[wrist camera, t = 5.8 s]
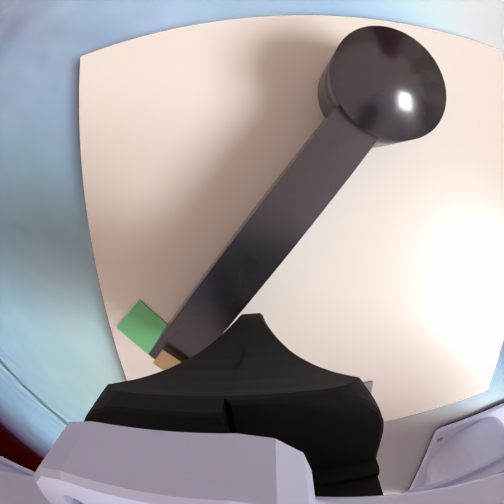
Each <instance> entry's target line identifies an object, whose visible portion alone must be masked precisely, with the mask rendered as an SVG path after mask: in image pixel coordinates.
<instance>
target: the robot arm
mask: <svg viewBox="0 0 504 504" xmlns="http://www.w3.org/2000/svg"><path fill="white" fill-rule="evenodd" d="M383 423H384V420H383V417H382V415H381V412H380V409H379V407H378V405H377V403H376V401H375V399H374V397H373V396H372V394H371V393H370V391H369V390H368V389H367V387H366V386H365V384H364V383H363V382H362V380H361V379H360V378H359V377H355V376H350V375H345V374H341V373H336V372H333V371H330V370H327V369H324V368H321V367H319V366H316V365H314V364H312V363H310V362H308V361H306V360H304V359H302V358H300V357H299V356H297V355H296V354H294V353H293V352H291V351H290V350H289V349H288V348H287V347H286V346H284V345H283V344H282V342H281V341H280V340H279V339H278V338H277V337H276V336H275V335H274V333H273V332H272V331H271V330H270V328H269V327H268V325H267V324H266V322H265V320H264V316H263V315H262V314H261V313H252V314H242V315H241V316H240V317H239V318H238V319H237V320H236V321H235V322H234V323H233V324H232V325H231V326H230V327H229V328H228V329H227V330H226V331H225V332H224V333H223V334H222V335H221V336H220V337H218V338H217V339H216V340H215V341H214V342H212V343H211V344H210V345H209V346H208V347H206V348H205V349H203V350H202V351H201V352H199V353H197V354H196V355H194V356H192V357H191V358H189V359H187V360H185V361H183V362H181V363H179V364H177V365H175V366H173V367H171V368H169V369H166V370H163V371H161V372H158V373H155V374H152V375H149V376H146V377H142V378H138V379H134V380H129V381H124V382H119V383H114V384H108V385H107V387H106V388H105V389H104V391H103V392H102V394H101V395H100V396H99V398H98V399H97V401H96V402H95V404H94V405H93V407H92V408H91V410H90V411H89V412H88V414H87V415H86V418H85V421H84V422H69V424H68V425H67V427H66V428H65V429H64V431H63V432H62V434H61V435H60V436H59V438H58V439H57V441H56V442H55V444H54V445H53V447H52V448H51V449H50V451H49V452H48V454H47V455H46V457H45V458H44V460H43V461H42V463H41V464H40V466H39V467H38V469H37V470H36V472H33V471H31V470H29V469H27V468H24V467H22V466H20V465H18V464H16V463H13V462H11V461H9V460H7V459H5V458H3V457H1V456H0V504H504V403H502V404H500V405H498V406H495V407H493V408H491V409H488V410H486V411H484V412H481V413H479V414H476V415H474V416H471V417H469V418H466V419H463V420H461V421H458V422H455V423H452V424H449V425H446V426H443V427H441V428H439V429H437V430H436V431H435V433H434V435H433V438H432V440H431V443H430V445H429V448H428V450H427V452H426V455H425V457H424V459H423V462H422V464H421V466H420V468H419V470H418V472H417V475H416V477H415V479H414V481H413V483H412V485H411V487H410V489H409V491H406V492H403V493H399V494H393V495H383V492H382V489H381V486H380V483H379V480H378V476H377V475H379V466H378V463H377V460H376V456H377V452H378V449H379V445H380V441H381V437H382V433H383Z"/></svg>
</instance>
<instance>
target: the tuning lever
mask: <svg viewBox="0 0 504 504" xmlns="http://www.w3.org/2000/svg"><path fill="white" fill-rule="evenodd" d="M318 101H319V105H320V109H321V111H322V114H323V115H324V117H325V119H324V120H323V121H322V123H321V124H320V125H319V126H318V128H317V129H316V130H315V131H314V133H313V134H312V135H311V136H310V138H309V139H308V140H307V141H306V143H305V144H304V145H303V146H302V148H301V149H300V150H299V151H298V153H297V154H296V155H295V156H294V158H293V159H292V160H291V162H290V163H289V164H288V165H287V167H286V168H285V169H284V170H283V172H282V173H281V174H280V176H279V177H278V178H277V179H276V181H275V182H274V183H273V185H272V186H271V187H270V188H269V190H268V191H267V192H266V194H265V195H264V196H263V197H262V199H261V200H260V201H259V203H258V204H257V205H256V206H255V208H254V209H253V210H252V212H251V213H250V214H249V216H248V217H247V218H246V220H245V221H244V222H243V223H242V225H241V226H240V227H239V229H238V230H237V231H236V233H235V234H234V235H233V237H232V238H231V239H230V241H229V242H228V243H227V244H226V246H225V247H224V248H223V250H222V251H221V252H220V254H219V255H218V256H217V258H216V259H215V260H214V262H213V263H212V264H211V266H210V267H209V268H208V270H207V271H206V272H205V274H204V275H203V277H202V278H201V279H200V281H199V282H198V283H197V285H196V286H195V287H194V289H193V290H192V291H191V293H190V294H189V295H188V297H187V298H186V300H185V301H184V302H183V304H182V305H181V306H180V308H179V309H178V310H177V312H176V313H175V315H174V316H173V317H172V319H171V320H170V321H169V323H168V324H167V326H166V327H165V328H164V330H163V332H162V333H161V335H160V336H159V338H158V340H157V341H156V343H155V344H154V346H153V348H152V349H151V351H150V352H149V355H150V356H151V357H153V358H154V359H155V360H154V362H153V364H154V365H156V366H157V367H159V368H160V369H162V370H166V369H169V368H171V367H173V366H175V365H177V364H179V363H181V362H183V361H185V360H187V359H189V358H191V357H192V356H194V355H196V354H197V353H199V352H201V351H202V350H203V349H205V348H206V347H208V346H209V345H210V344H211V343H212V342H214V341H215V340H216V339H217V338H218V337H220V336H221V335H222V334H223V333H224V331H225V330H226V329H227V328H228V327H229V326H230V324H231V323H232V322H233V321H234V320H235V318H236V317H237V316H238V315H239V314H240V312H241V311H242V310H243V309H244V308H245V307H246V305H247V304H248V303H249V302H250V301H251V299H252V298H253V297H254V296H255V294H256V293H257V292H258V291H259V290H260V288H261V287H262V286H263V285H264V284H265V282H266V281H267V280H268V279H269V278H270V276H271V275H272V274H273V273H274V271H275V270H276V269H277V268H278V266H279V265H280V264H281V263H282V262H283V260H284V259H285V258H286V257H287V255H288V254H289V253H290V252H291V250H292V249H293V248H294V247H295V246H296V244H297V243H298V242H299V241H300V239H301V238H302V237H303V236H304V234H305V233H306V232H307V231H308V229H309V228H310V227H311V226H312V224H313V223H314V222H315V220H316V219H317V218H318V217H319V215H320V214H321V213H322V212H323V210H324V209H325V208H326V207H327V205H328V204H329V203H330V201H331V200H332V199H333V198H334V196H335V195H336V194H337V193H338V191H339V190H340V189H341V187H342V186H343V185H344V183H345V182H346V181H347V180H348V178H349V177H350V176H351V174H352V173H353V172H354V171H355V169H356V168H357V167H358V165H359V164H360V163H361V161H362V160H363V159H364V157H365V156H366V155H367V154H368V152H369V151H370V150H371V148H376V147H383V146H387V145H391V144H396V143H400V142H405V141H409V140H414V139H418V138H421V137H423V136H425V135H427V134H428V133H430V132H431V131H432V130H433V129H435V128H436V126H437V125H438V124H439V122H440V120H441V119H442V117H443V114H444V111H445V106H446V87H445V82H444V79H443V76H442V73H441V71H440V69H439V67H438V65H437V63H436V61H435V60H434V58H433V57H432V56H431V54H430V53H429V52H428V51H427V50H426V49H425V48H424V47H423V46H422V45H421V44H420V43H419V42H418V41H416V40H415V39H414V38H412V37H411V36H409V35H407V34H406V33H404V32H402V31H399V30H397V29H394V28H390V27H385V26H366V27H362V28H359V29H357V30H354V31H353V32H351V33H349V34H348V35H347V36H346V37H345V38H344V39H343V40H342V41H341V43H340V44H339V46H338V47H337V49H336V51H335V52H334V54H333V56H332V57H331V59H330V61H329V63H328V64H327V66H326V68H325V69H324V71H323V73H322V75H321V77H320V80H319V84H318Z"/></svg>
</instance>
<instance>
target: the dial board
mask: <svg viewBox="0 0 504 504" xmlns="http://www.w3.org/2000/svg"><path fill="white" fill-rule="evenodd" d="M366 26H385V27H390V28H394V29H397V30H399V31H402V32H404V33H406V34H407V35H409V36H411V37H412V38H414V39H415V40H416V41H418V42H419V43H420V44H421V45H422V46H423V47H424V48H425V49H426V50H427V51H428V52H429V53H430V54H431V56H432V57H433V58H434V60H435V61H436V63H437V65H438V67H439V69H440V71H441V73H442V76H443V79H444V82H445V87H446V106H445V111H444V114H443V117H442V119H441V120H440V122H439V124H438V125H437V126H436V128H435V129H433V130H432V131H431V132H430V133H428V134H427V135H425V136H423V137H421V138H418V139H414V140H409V141H405V142H400V143H396V144H391V145H387V146H383V147H376V148H371V150H370V151H369V152H368V154H367V155H366V156H365V157H364V159H363V160H362V161H361V163H360V164H359V165H358V167H357V168H356V169H355V171H354V172H353V173H352V174H351V176H350V177H349V178H348V180H347V181H346V182H345V183H344V185H343V186H342V187H341V189H340V190H339V191H338V193H337V194H336V195H335V196H334V198H333V199H332V200H331V201H330V203H329V204H328V205H327V207H326V208H325V209H324V210H323V212H322V213H321V214H320V215H319V217H318V218H317V219H316V220H315V222H314V223H313V224H312V226H311V227H310V228H309V229H308V231H307V232H306V233H305V234H304V236H303V237H302V238H301V239H300V241H299V242H298V243H297V244H296V246H295V247H294V248H293V249H292V250H291V252H290V253H289V254H288V255H287V257H286V258H285V259H284V260H283V262H282V263H281V264H280V265H279V266H278V268H277V269H276V270H275V271H274V273H273V274H272V275H271V276H270V278H269V279H268V280H267V281H266V282H265V284H264V285H263V286H262V287H261V288H260V290H259V291H258V292H257V293H256V294H255V296H254V297H253V298H252V299H251V301H250V302H249V303H248V304H247V305H246V307H245V308H244V309H243V310H242V311H241V312H240V314H239V315H238V316H237V317H236V318H235V320H234V321H233V322H232V323H231V324H230V326H231V325H232V324H233V323H234V322H235V321H236V320H237V319H238V318H239V317H240V316H241V315H242V314H252V313H261V314H262V315H263V316H264V320H265V322H266V324H267V325H268V327H269V328H270V330H271V331H272V332H273V333H274V335H275V336H276V337H277V338H278V339H279V340H280V341H281V342H282V344H283V345H284V346H286V347H287V348H288V349H289V350H290V351H291V352H293V353H294V354H296V355H297V356H299V357H300V358H302V359H304V360H306V361H308V362H310V363H312V364H314V365H316V366H319V367H321V368H324V369H327V370H330V371H333V372H336V373H341V374H345V375H350V376H355V377H359V378H360V379H361V380H362V382H363V383H364V384H365V386H366V387H367V389H368V390H369V391H370V393H371V394H372V396H373V397H374V399H375V401H376V403H377V405H378V407H379V409H380V412H381V415H382V417H383V420H384V422H386V421H390V420H395V419H399V418H403V417H407V416H411V415H415V414H419V413H422V412H426V411H429V410H433V409H436V408H440V407H443V406H446V405H449V404H452V403H455V402H458V401H461V400H464V399H467V398H470V397H472V396H475V395H478V394H480V393H483V392H486V391H487V390H488V388H489V385H490V382H491V379H492V376H493V373H494V370H495V367H496V364H497V361H498V357H499V354H500V350H501V347H502V343H503V339H504V59H503V55H502V52H501V50H500V49H497V48H494V47H492V46H489V45H486V44H483V43H480V42H477V41H474V40H470V39H467V38H464V37H460V36H457V35H453V34H449V33H445V32H441V31H437V30H433V29H428V28H424V27H419V26H414V25H408V24H403V23H397V22H390V21H383V20H375V19H366V18H356V17H343V16H323V15H283V16H263V17H250V18H239V19H230V20H222V21H215V22H208V23H202V24H196V25H191V26H185V27H180V28H175V29H171V30H166V31H162V32H158V33H153V34H150V35H146V36H142V37H138V38H135V39H131V40H128V41H124V42H121V43H118V44H115V45H112V46H109V47H106V48H103V49H100V50H97V51H94V52H91V53H89V54H86V55H83V56H81V57H80V77H79V128H80V149H81V164H82V176H83V186H84V195H85V203H86V211H87V218H88V225H89V231H90V237H91V243H92V249H93V254H94V260H95V265H96V270H97V275H98V279H99V284H100V288H101V293H102V297H103V301H104V305H105V309H106V313H107V317H108V321H109V324H110V328H111V332H112V335H113V339H114V342H115V345H116V349H117V352H118V355H119V358H120V361H121V365H122V368H123V371H124V374H125V377H126V379H127V381H129V380H134V379H138V378H142V377H146V376H149V375H152V374H155V373H158V372H161V371H163V370H162V369H160V368H159V367H157V366H156V365H154V364H153V362H154V360H155V359H154V358H153V357H151V356H150V355H149V352H150V351H151V349H152V348H153V346H154V344H155V343H156V341H157V340H158V338H159V336H160V335H161V333H162V332H163V330H164V328H165V327H166V326H167V324H168V323H169V321H170V320H171V319H172V317H173V316H174V315H175V313H176V312H177V310H178V309H179V308H180V306H181V305H182V304H183V302H184V301H185V300H186V298H187V297H188V295H189V294H190V293H191V291H192V290H193V289H194V287H195V286H196V285H197V283H198V282H199V281H200V279H201V278H202V277H203V275H204V274H205V272H206V271H207V270H208V268H209V267H210V266H211V264H212V263H213V262H214V260H215V259H216V258H217V256H218V255H219V254H220V252H221V251H222V250H223V248H224V247H225V246H226V244H227V243H228V242H229V241H230V239H231V238H232V237H233V235H234V234H235V233H236V231H237V230H238V229H239V227H240V226H241V225H242V223H243V222H244V221H245V220H246V218H247V217H248V216H249V214H250V213H251V212H252V210H253V209H254V208H255V206H256V205H257V204H258V203H259V201H260V200H261V199H262V197H263V196H264V195H265V194H266V192H267V191H268V190H269V188H270V187H271V186H272V185H273V183H274V182H275V181H276V179H277V178H278V177H279V176H280V174H281V173H282V172H283V170H284V169H285V168H286V167H287V165H288V164H289V163H290V162H291V160H292V159H293V158H294V156H295V155H296V154H297V153H298V151H299V150H300V149H301V148H302V146H303V145H304V144H305V143H306V141H307V140H308V139H309V138H310V136H311V135H312V134H313V133H314V131H315V130H316V129H317V128H318V126H319V125H320V124H321V123H322V121H323V120H324V119H325V117H324V115H323V114H322V111H321V109H320V105H319V101H318V84H319V80H320V77H321V75H322V73H323V71H324V69H325V68H326V66H327V64H328V63H329V61H330V59H331V57H332V56H333V54H334V52H335V51H336V49H337V47H338V46H339V44H340V43H341V41H342V40H343V39H344V38H345V37H346V36H347V35H348V34H349V33H351V32H353V31H354V30H357V29H359V28H362V27H366ZM230 326H229V327H230ZM229 327H228V328H229ZM228 328H227V329H228ZM227 329H226V330H227ZM226 330H225V331H226ZM225 331H224V332H225Z"/></svg>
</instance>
